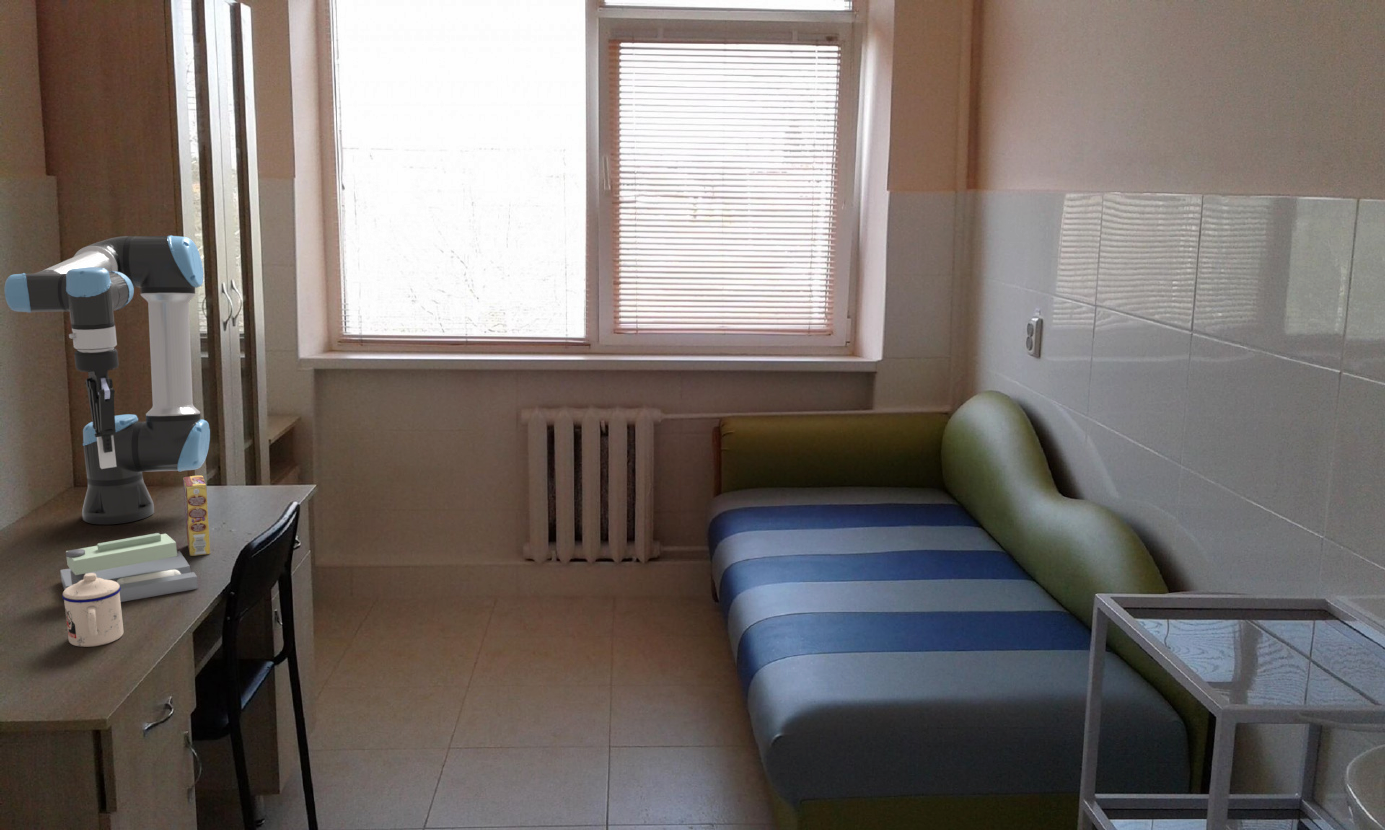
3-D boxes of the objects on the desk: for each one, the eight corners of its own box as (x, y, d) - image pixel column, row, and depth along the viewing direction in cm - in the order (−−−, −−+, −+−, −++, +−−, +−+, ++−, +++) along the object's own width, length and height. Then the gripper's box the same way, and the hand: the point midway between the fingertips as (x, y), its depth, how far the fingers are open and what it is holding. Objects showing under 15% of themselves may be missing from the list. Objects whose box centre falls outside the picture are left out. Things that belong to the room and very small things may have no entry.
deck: (61, 581, 237) (58, 553, 236) (180, 562, 248) (178, 535, 247) (71, 610, 222) (68, 580, 221) (197, 588, 233) (195, 559, 232)
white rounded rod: (113, 582, 231) (114, 576, 229) (179, 571, 237) (180, 565, 235) (116, 595, 230) (116, 590, 228) (181, 584, 236) (183, 579, 234)
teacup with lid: (68, 632, 212) (61, 569, 209) (125, 624, 215) (119, 562, 213) (64, 658, 201) (57, 592, 199) (124, 649, 205) (118, 584, 202)
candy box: (212, 554, 254) (206, 484, 251) (190, 557, 252) (184, 486, 249) (208, 542, 262) (203, 474, 258) (187, 544, 260) (181, 476, 257)
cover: (72, 575, 222) (69, 555, 221) (63, 565, 228) (61, 545, 227) (177, 556, 233) (175, 536, 233) (167, 546, 239) (165, 527, 238)
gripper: (67, 346, 234) (80, 462, 239) (81, 355, 224) (95, 477, 229) (108, 342, 239) (120, 457, 244) (124, 351, 229) (137, 471, 234)
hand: (108, 466), depth 237 cm, fingers closed
